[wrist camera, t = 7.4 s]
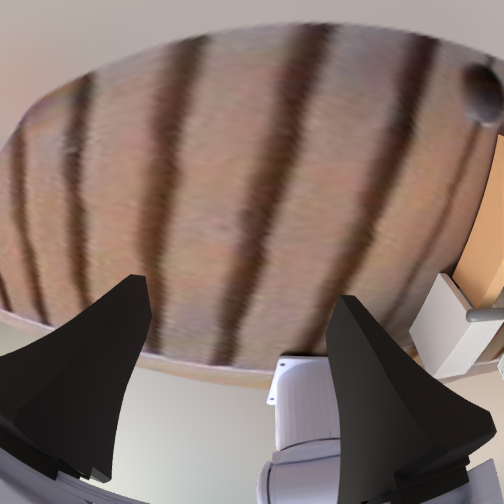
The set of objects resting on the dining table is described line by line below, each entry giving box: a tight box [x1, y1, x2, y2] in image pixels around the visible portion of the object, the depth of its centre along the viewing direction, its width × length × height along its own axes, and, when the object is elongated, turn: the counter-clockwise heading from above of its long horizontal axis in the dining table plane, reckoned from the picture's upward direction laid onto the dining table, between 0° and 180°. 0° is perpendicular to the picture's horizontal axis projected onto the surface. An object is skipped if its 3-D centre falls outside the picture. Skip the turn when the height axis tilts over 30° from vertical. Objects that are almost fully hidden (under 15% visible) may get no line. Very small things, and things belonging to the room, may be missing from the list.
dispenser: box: [409, 273, 504, 379], centre depth 19 cm, size 8×5×6 cm
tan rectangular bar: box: [452, 134, 504, 309], centre depth 15 cm, size 13×2×4 cm, turn 175°
